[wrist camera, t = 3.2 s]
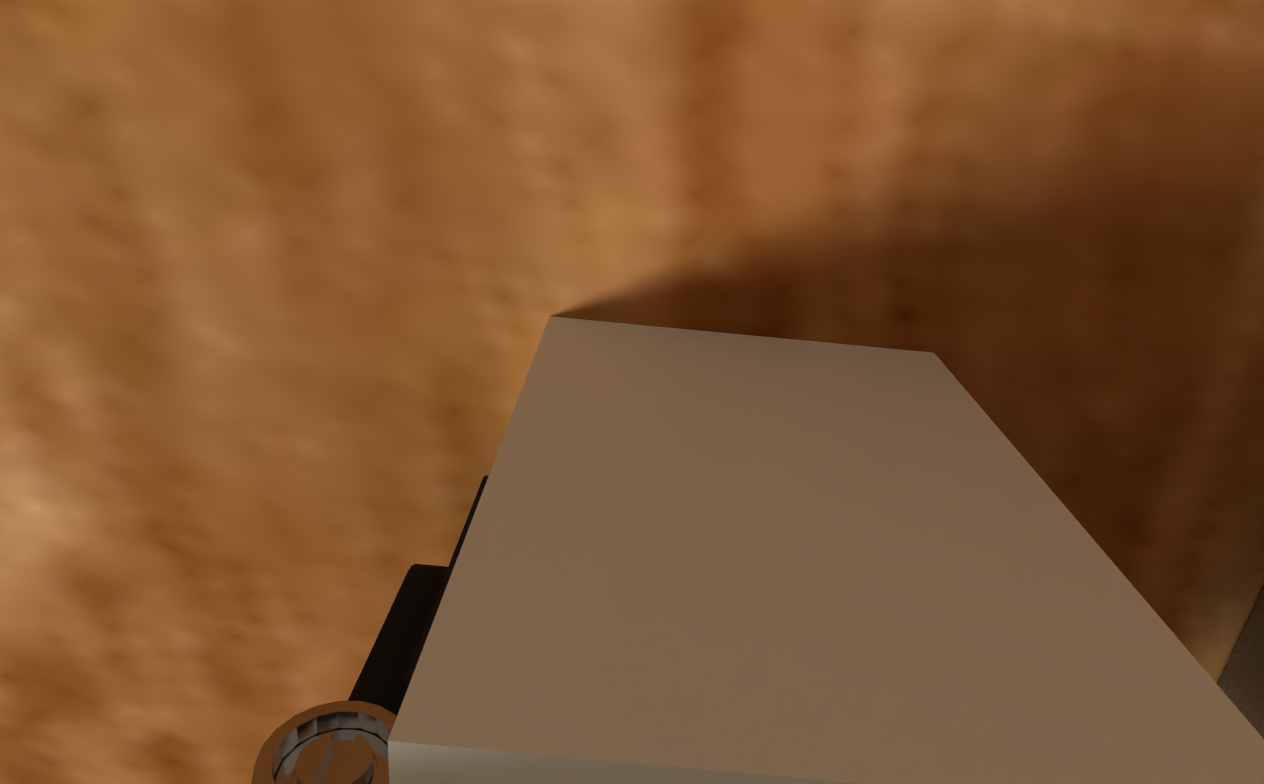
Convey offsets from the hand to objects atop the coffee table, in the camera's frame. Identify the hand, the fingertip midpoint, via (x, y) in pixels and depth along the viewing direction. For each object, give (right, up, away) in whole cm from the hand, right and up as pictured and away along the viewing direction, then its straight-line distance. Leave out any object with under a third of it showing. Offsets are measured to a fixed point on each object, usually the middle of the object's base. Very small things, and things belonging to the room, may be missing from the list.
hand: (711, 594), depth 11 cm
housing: (0, 0, +1) cm, 1 cm away
